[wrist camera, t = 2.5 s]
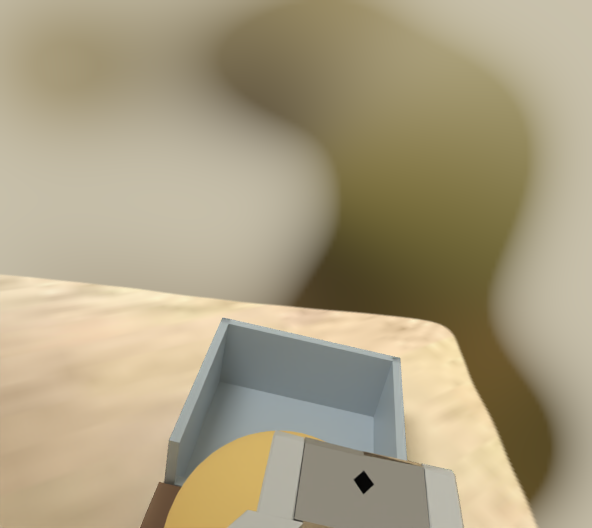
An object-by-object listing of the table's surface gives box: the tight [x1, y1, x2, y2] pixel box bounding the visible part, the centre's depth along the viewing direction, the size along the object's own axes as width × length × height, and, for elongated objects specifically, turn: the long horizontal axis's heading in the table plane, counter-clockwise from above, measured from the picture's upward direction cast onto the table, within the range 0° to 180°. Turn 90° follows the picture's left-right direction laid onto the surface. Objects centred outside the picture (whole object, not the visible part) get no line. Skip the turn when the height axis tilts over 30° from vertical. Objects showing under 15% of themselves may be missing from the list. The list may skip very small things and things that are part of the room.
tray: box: [164, 318, 407, 487], centre depth 38 cm, size 14×13×6 cm
